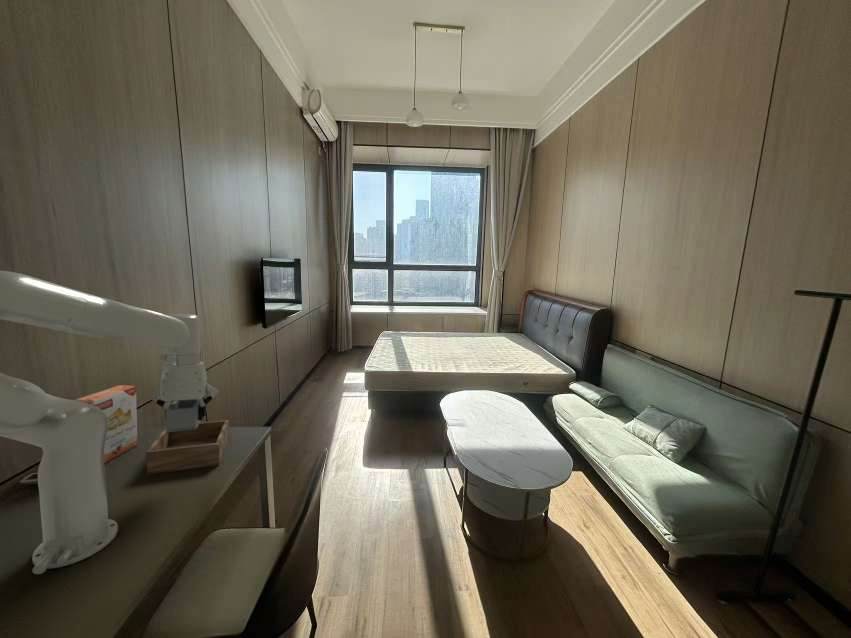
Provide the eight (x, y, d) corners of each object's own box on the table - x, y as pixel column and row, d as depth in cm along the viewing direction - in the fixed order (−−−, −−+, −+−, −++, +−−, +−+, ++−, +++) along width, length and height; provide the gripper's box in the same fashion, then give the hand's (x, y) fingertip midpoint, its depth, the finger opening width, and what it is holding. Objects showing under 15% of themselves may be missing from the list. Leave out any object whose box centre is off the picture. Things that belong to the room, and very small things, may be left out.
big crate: (219, 465, 102) (219, 444, 101) (147, 475, 95) (146, 452, 94) (228, 438, 119) (228, 419, 118) (168, 445, 112) (167, 425, 111)
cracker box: (97, 469, 96) (93, 400, 94) (77, 467, 96) (72, 399, 94) (139, 445, 110) (137, 385, 108) (121, 444, 110) (119, 384, 108)
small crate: (195, 429, 90) (195, 408, 89) (166, 432, 88) (165, 410, 87) (204, 415, 98) (203, 396, 97) (177, 418, 96) (176, 398, 95)
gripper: (138, 363, 84) (142, 429, 86) (217, 360, 90) (219, 422, 93) (150, 356, 91) (153, 417, 93) (223, 354, 97) (224, 411, 99)
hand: (186, 419), depth 93 cm, fingers closed on small crate, 6 cm apart
